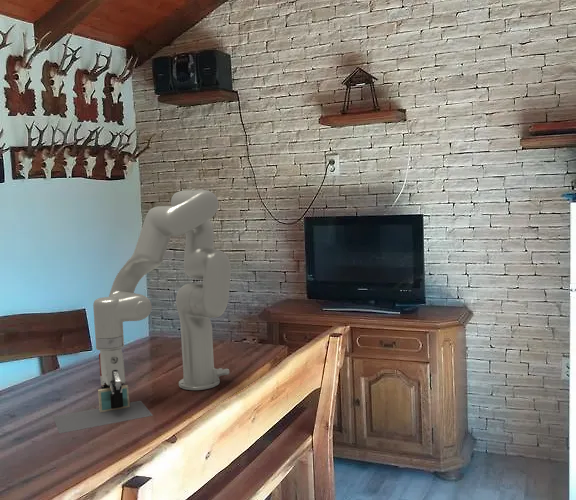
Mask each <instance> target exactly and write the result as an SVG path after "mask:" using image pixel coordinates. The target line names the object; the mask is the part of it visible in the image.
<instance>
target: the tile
mask: <svg viewBox="0 0 576 500" xmlns="http://www.w3.org/2000/svg"><path fill="white" fill-rule="evenodd" d="M121 387H122V393H123V407H120V408H115V409H112V408H111V400H110V394H111V389H110V388H105V389H104V388H100V389H97V394H98V408H99V411H100V412H105V411H111V410H116V409H121V408H127V407H130V405H129V403H130V394H129V393H130V392H129V385H128V384H125V385H124V384H123V385H121ZM113 388H114V387H113Z"/></svg>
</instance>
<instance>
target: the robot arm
mask: <svg viewBox="0 0 576 500" xmlns="http://www.w3.org/2000/svg"><path fill="white" fill-rule="evenodd" d="M218 209H219V200H218V197H217V196H216V194H215V193H214V192H212V191H210V190H208V189H207V190H206V189H196V190H195V189H190V190H189V189H187V190H180V191H177V192H175V193H174V194H173V195H172V197H171V198H170V205H164V206H163V205H162V206H161V205H160V206H159V205H158V206H155V207H152V208H151V209H149V210H148V212H147V214H146V215H145V218H144V221H143V224H142V227H141V230H140V233H139V236H138V238H137V239H138V240H137V242H136V245H135V248H134V251H133V253H132V254H131V257H129V259H128V260H127V261H125V263H124V265H123V266H122V267H121V268H120V270H119V271H118V272H117V274H116V276H115V278H114V281H113V283H112V285H111V289H110V292H109V294H108V296H104V297H99V298H97V299H96V298H95V300H94V301H93V305H92V306H93V323H94V337H95V349H96V350H97V351H99V354H100V361H101V373H102V378H103V382H104V384H105V385H103V386H102V388H103V389H105V388H110V389H111V394H110V400H111V408H112V409H115V408H120V407H123V393H122V387H121V386H122V384H121V383H123V385H124V384H125V383H126V373H125V364H124V356H123V348H124V347H125V341H124V340H125V339H124V338H125V337H124V322H139V321H142V320H145V319H146V318H148V317H149V316H150V314H151V313H152V310H153V309H152V308H153V306H152V305H153V304H152V302H151V300H150V299H149V298H148V297H147V296H146V295H144V294H140V293H136V292H135V290H136V288H137V286H138V284H139V282H140V281H141V280H142V279H143V277H144V276H146V275H147V274H148V273H150V272H151V271H154V270H155V269H157V268H158V267H160V266H161V265H162V263H163V262H164V258H165V254H166V252H167V249H168V246H169V242H170V240H171V237H172V236H173V237H180V236H183V235H185V244H184V245H185V247H184V255H183V256H184V258H183V271H184V273H185V275H186V276H187V277H189V278H192V279H196V280H202V283H196V282H195V283H194V282H191V283H186V284H184V285H183V286H181V287H180V288H179V289H178V290H177V293H176V296H175V303H176V310H177V314H178V318H179V322H180V323H179V324H180V339H181V355H182V374H183V378H181V379H180V380H179V381H178V386H179V388H180V389H183V390H187V391H188V390H189V391H203V390H208V389H212V388H215V387H217V386H218V385H219V384H220V383H221V382H220V381H221V380H220V377H221V376H229V375H230V369H229V368H222V367H219V368H216V367H215V360H214V345H213V344H214V341H213V325H212V321H211V319H215V318H219V317H220V316H222V315H223V314H224V313H225V312H226V310H227V306H228V303H229V298H230V297H229V296H230V288H231V287H230V286H231V275H232V274H231V273H232V271H231V270H232V267H231V261H230V258H229V255H227V254H226V252H224V251H222V250H220V249H215V248H214V239H215V231H214V226H213V223H212V222H211V219H212V218H213V217H214V216H215V215H216V213H217V211H218ZM113 387H114V388H113Z"/></svg>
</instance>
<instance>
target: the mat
mask: <svg viewBox="0 0 576 500" xmlns="http://www.w3.org/2000/svg"><path fill="white" fill-rule="evenodd" d="M129 405H130V407H127V408H121V409H116V410H111V411H105V412H100V411H99V407H98V408H92V409H88V410H80V411H75V412H70V413H65V414H60V415H53V416H52V419H53V421H54V423H55V427H56V429H57V431H58V433H59V435H61V434H64V433H70V432H75V431H81V430H86V429H91V428H96V427H101V426H106V425H107V426H108V425H113V424H116V423H122V422H127V421H132V420H137V419H143V418H146V417H147V418H148V417H152V416H153V414H152V412H151V411H150V410H149V409H148V407H147V406H146V405H145V404H144V403H143V401H142V400H137V401H131V402H130V401H129Z"/></svg>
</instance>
